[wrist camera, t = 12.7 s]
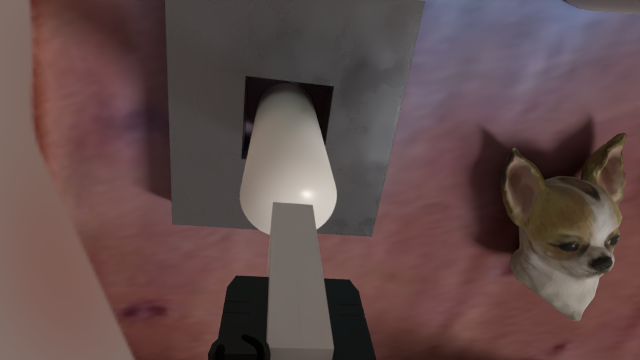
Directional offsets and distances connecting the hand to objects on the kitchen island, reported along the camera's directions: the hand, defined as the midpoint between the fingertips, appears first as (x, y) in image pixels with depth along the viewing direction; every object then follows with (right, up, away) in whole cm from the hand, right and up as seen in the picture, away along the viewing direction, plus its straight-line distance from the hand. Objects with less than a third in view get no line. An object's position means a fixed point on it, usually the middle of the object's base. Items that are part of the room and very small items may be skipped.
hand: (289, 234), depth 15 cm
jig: (-1, +7, +15) cm, 17 cm away
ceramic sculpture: (+22, 0, +22) cm, 31 cm away
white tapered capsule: (-1, +7, +15) cm, 17 cm away
